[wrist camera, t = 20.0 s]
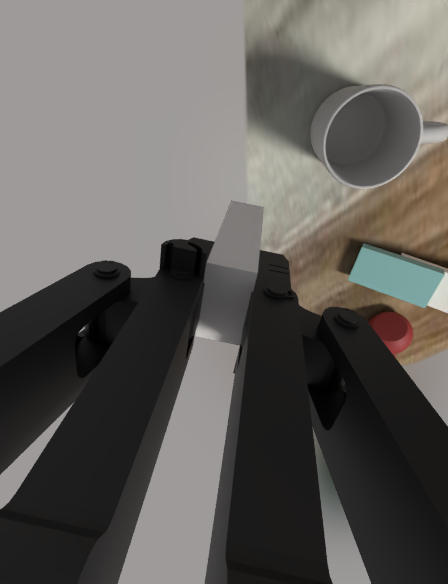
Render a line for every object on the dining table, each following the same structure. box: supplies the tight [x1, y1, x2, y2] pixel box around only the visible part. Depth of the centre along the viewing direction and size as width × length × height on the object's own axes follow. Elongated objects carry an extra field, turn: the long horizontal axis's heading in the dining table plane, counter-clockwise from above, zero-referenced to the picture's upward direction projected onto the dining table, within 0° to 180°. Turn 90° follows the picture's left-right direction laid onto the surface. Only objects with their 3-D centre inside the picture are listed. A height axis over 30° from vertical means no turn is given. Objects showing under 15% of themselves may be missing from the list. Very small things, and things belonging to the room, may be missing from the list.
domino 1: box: [348, 243, 445, 308], centre depth 44 cm, size 2×5×10 cm
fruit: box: [369, 312, 413, 357], centre depth 49 cm, size 6×6×8 cm
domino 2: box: [401, 253, 448, 313], centre depth 45 cm, size 2×5×10 cm
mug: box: [310, 85, 448, 189], centre depth 34 cm, size 12×8×11 cm
